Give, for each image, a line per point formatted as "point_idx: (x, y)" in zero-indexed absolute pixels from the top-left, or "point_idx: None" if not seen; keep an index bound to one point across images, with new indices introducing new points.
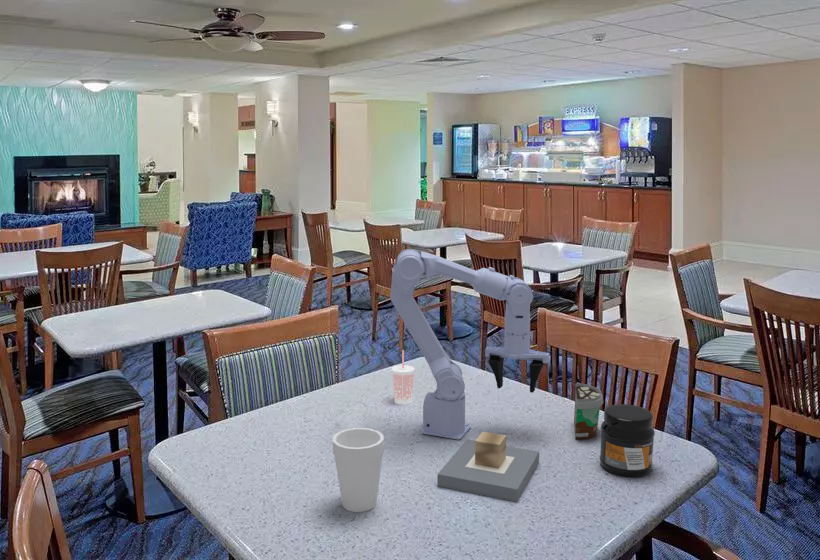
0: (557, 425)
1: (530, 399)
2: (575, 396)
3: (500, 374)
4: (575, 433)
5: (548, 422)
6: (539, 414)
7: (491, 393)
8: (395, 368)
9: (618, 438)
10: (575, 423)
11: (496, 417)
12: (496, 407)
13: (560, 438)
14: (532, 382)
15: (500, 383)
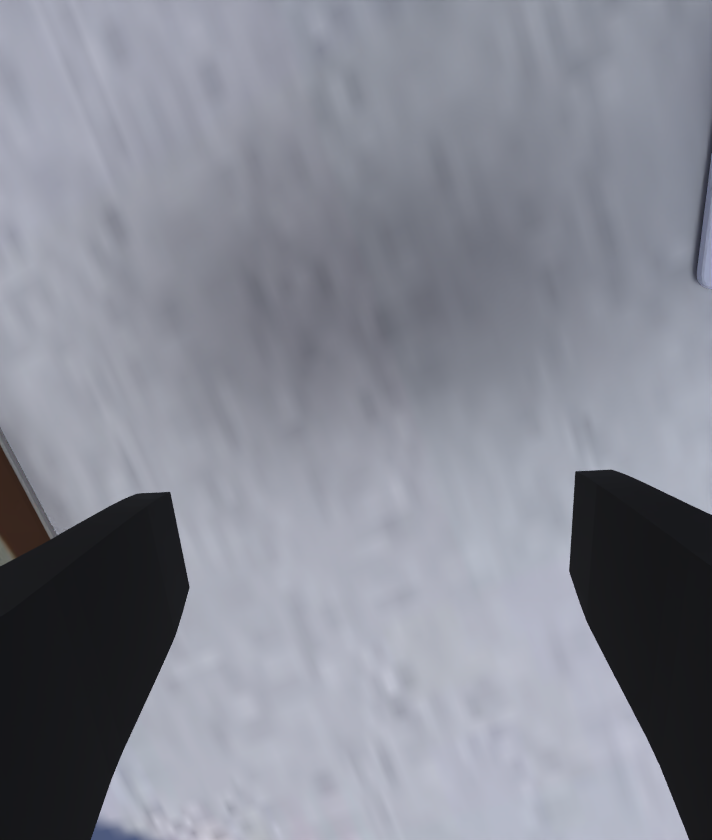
0: None
1: (440, 823)
2: None
3: (665, 631)
4: (4, 469)
5: (236, 584)
6: (325, 666)
7: (677, 827)
8: None
9: None
10: (5, 541)
11: (559, 532)
12: (599, 667)
13: (75, 391)
14: (50, 548)
15: (598, 517)
